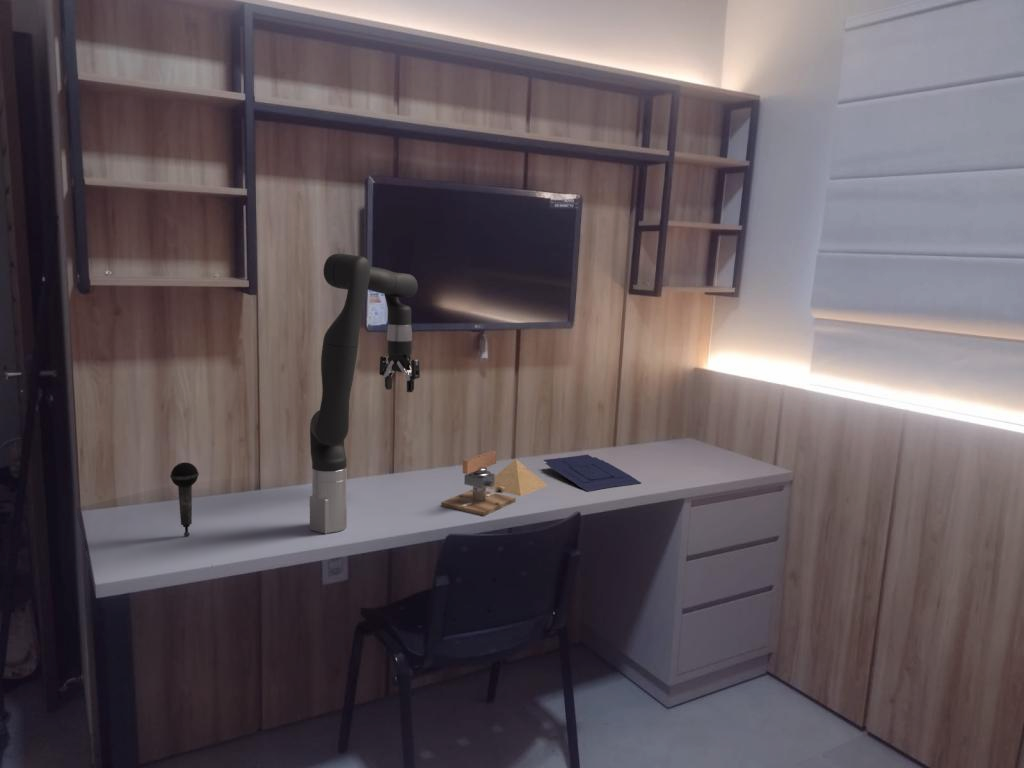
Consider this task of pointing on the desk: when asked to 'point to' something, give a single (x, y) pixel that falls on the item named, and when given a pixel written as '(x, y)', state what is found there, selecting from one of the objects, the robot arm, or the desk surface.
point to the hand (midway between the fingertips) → (399, 390)
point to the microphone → (185, 490)
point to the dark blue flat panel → (590, 472)
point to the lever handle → (479, 470)
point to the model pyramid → (516, 480)
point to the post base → (478, 501)
